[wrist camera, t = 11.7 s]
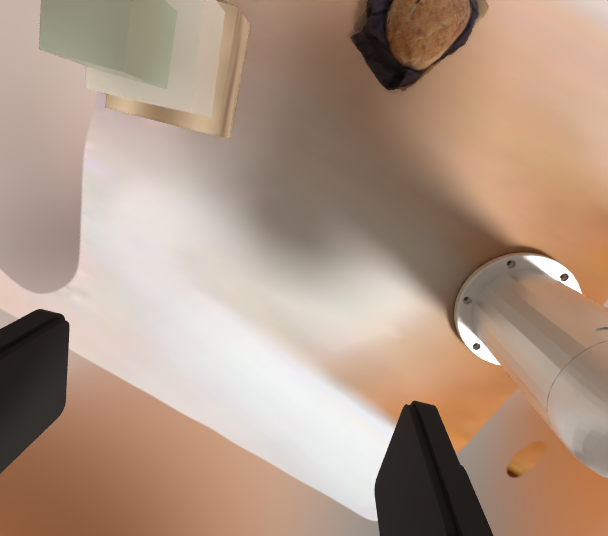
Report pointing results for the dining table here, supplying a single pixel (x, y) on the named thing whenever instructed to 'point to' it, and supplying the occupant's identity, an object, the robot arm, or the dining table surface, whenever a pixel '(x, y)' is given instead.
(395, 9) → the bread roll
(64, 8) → the sage block
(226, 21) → the tower base
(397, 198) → the dining table surface
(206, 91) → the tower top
